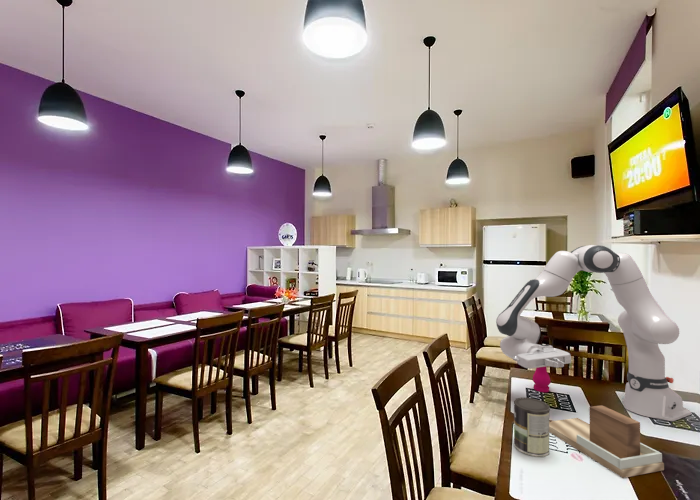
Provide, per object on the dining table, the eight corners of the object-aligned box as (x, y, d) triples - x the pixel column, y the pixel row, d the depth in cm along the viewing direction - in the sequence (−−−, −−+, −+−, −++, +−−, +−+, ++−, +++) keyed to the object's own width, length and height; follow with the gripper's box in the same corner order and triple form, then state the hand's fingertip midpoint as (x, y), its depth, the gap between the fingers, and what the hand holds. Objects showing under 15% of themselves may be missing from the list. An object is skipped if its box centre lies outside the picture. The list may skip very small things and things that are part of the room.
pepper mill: (553, 393, 159) (552, 348, 159) (535, 392, 160) (535, 347, 160) (547, 387, 166) (547, 344, 166) (530, 386, 167) (530, 343, 167)
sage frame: (614, 436, 118) (614, 429, 118) (662, 462, 104) (662, 453, 104) (576, 442, 114) (576, 434, 114) (621, 469, 100) (621, 460, 100)
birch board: (577, 423, 131) (577, 417, 131) (664, 470, 103) (663, 463, 103) (542, 428, 128) (542, 422, 128) (622, 477, 99) (622, 470, 99)
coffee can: (509, 449, 114) (509, 404, 114) (518, 436, 122) (518, 394, 122) (546, 461, 107) (546, 414, 107) (552, 446, 115) (552, 402, 115)
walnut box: (602, 439, 116) (602, 405, 116) (640, 460, 104) (640, 422, 104) (589, 441, 115) (589, 406, 115) (626, 462, 103) (626, 424, 103)
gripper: (509, 349, 141) (536, 359, 127) (552, 344, 146) (582, 353, 132) (510, 365, 141) (536, 377, 127) (553, 360, 146) (583, 370, 132)
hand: (560, 365), depth 130 cm, fingers closed
